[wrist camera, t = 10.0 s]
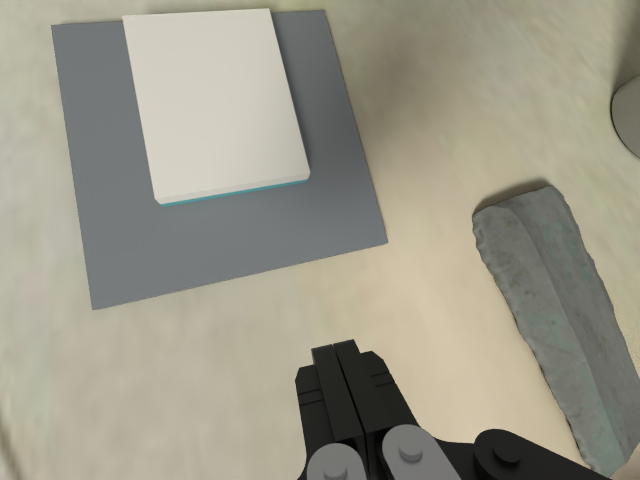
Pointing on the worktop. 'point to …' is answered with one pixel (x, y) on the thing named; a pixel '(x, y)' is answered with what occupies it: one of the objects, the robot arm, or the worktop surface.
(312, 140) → the rubber mat
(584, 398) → the stone slab
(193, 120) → the glazed tile
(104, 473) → the worktop surface
